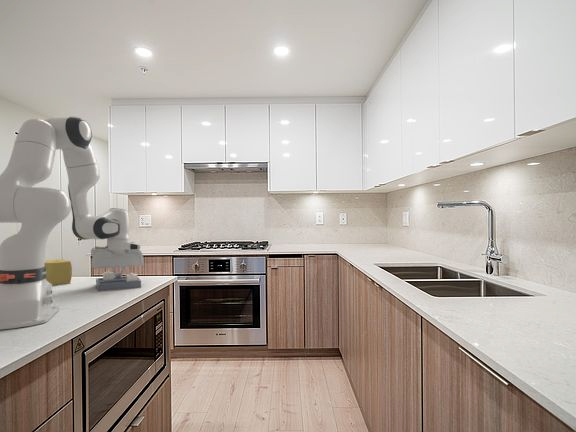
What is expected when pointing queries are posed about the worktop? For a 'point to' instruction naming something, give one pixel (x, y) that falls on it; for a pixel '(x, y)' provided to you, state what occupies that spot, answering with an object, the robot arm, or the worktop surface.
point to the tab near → (131, 277)
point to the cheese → (58, 271)
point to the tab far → (108, 275)
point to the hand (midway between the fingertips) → (118, 277)
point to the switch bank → (116, 284)
